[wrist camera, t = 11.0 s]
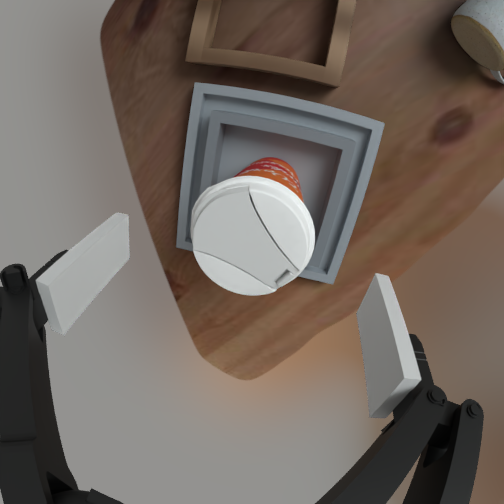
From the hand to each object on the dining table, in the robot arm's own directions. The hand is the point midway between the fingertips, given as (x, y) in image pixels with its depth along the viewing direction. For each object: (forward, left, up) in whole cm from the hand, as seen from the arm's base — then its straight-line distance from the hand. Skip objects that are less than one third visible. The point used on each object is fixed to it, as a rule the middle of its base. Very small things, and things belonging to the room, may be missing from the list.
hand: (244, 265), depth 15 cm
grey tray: (0, 0, -17) cm, 17 cm away
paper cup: (0, 0, -17) cm, 17 cm away
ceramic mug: (-23, +19, -17) cm, 35 cm away
